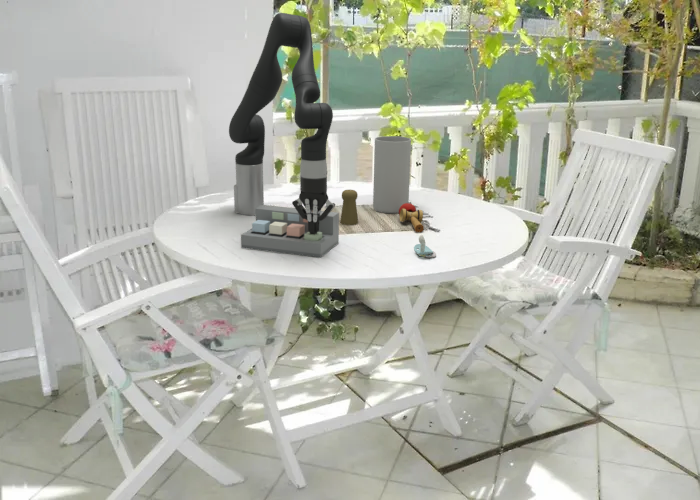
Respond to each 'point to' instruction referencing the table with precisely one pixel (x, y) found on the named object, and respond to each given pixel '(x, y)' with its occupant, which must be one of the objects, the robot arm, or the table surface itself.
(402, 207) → the kendama
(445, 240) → the table surface
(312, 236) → the key sage
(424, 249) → the pacifier
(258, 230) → the key blue
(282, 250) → the keypad
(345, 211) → the olive ball-ended cylinder
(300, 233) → the key coral
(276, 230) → the key cream
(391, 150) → the cylinder vase
